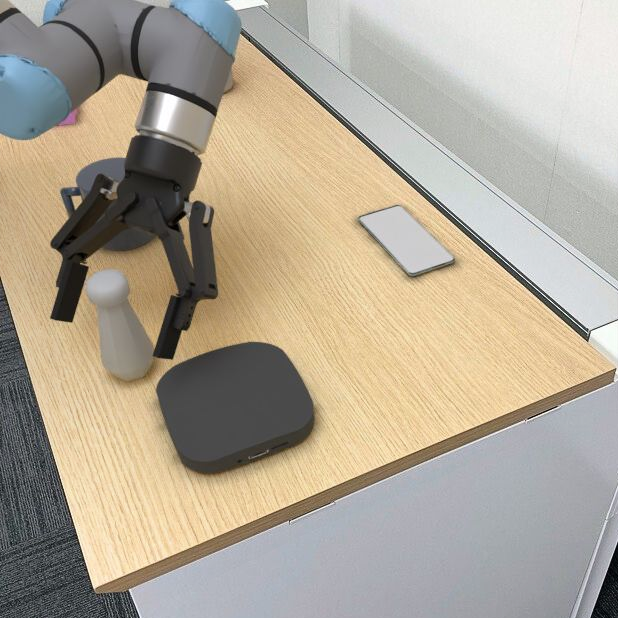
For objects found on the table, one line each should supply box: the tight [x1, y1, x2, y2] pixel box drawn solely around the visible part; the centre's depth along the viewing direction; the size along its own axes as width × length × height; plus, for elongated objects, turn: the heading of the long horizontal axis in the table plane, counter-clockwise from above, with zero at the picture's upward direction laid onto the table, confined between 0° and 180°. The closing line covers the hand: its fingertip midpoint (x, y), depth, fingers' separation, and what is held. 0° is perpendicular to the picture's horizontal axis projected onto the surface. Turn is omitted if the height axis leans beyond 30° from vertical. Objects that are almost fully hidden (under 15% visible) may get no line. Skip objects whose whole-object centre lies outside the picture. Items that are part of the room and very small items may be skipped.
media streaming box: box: [155, 341, 315, 474], centre depth 77 cm, size 15×15×3 cm
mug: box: [59, 156, 157, 251], centre depth 100 cm, size 12×9×9 cm
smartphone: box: [358, 204, 456, 277], centre depth 100 cm, size 7×1×15 cm
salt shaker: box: [84, 268, 155, 382], centre depth 79 cm, size 6×6×13 cm
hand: (110, 339), depth 78 cm, fingers open, 13 cm apart
